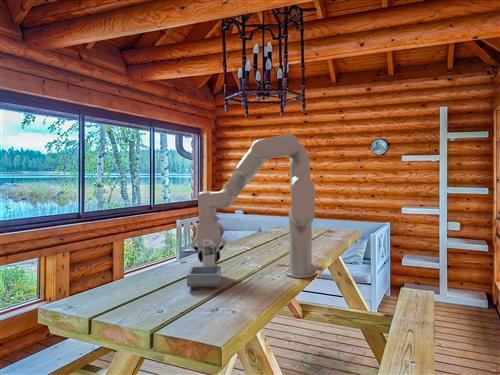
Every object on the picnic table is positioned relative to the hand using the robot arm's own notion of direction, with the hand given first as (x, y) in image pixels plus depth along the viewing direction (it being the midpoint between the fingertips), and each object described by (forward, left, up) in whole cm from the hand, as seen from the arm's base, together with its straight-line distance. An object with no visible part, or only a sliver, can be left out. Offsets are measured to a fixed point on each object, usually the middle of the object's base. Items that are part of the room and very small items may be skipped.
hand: (209, 260), depth 162 cm
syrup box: (0, 0, -5) cm, 5 cm away
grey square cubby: (+1, +16, -6) cm, 17 cm away
